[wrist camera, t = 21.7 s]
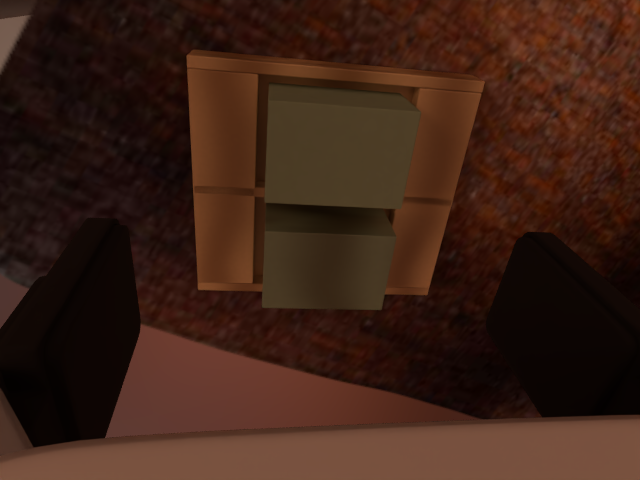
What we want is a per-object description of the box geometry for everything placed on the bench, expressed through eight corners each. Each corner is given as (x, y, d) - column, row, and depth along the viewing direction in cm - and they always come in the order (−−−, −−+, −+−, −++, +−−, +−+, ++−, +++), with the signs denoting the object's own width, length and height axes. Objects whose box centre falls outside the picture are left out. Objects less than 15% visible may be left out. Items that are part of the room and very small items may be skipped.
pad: (265, 173, 25) (264, 203, 22) (268, 82, 23) (268, 99, 19) (384, 179, 26) (401, 210, 23) (400, 92, 24) (422, 111, 20)
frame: (202, 272, 29) (190, 322, 25) (192, 49, 23) (173, 65, 18) (419, 278, 31) (442, 325, 27) (470, 74, 24) (513, 94, 20)
